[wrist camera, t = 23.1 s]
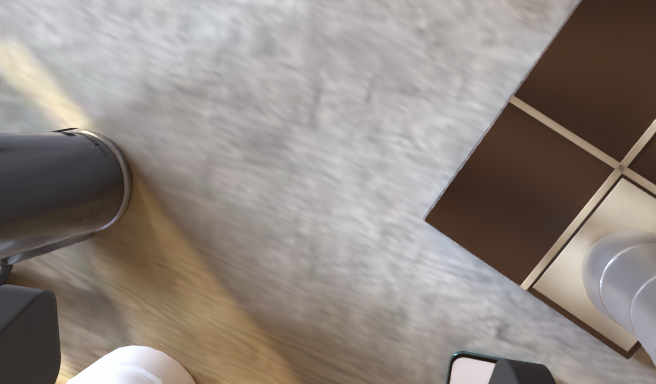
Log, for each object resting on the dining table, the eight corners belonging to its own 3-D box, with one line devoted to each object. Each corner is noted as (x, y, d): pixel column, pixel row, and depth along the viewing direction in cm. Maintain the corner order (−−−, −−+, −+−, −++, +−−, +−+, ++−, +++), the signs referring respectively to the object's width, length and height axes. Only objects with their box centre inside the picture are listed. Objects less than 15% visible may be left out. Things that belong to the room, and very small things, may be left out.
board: (622, 352, 37) (629, 360, 36) (423, 217, 39) (422, 220, 38) (850, 104, 32) (866, 103, 31) (606, -38, 34) (612, -44, 33)
